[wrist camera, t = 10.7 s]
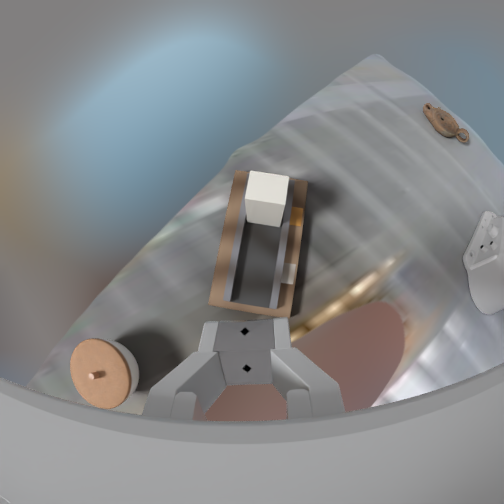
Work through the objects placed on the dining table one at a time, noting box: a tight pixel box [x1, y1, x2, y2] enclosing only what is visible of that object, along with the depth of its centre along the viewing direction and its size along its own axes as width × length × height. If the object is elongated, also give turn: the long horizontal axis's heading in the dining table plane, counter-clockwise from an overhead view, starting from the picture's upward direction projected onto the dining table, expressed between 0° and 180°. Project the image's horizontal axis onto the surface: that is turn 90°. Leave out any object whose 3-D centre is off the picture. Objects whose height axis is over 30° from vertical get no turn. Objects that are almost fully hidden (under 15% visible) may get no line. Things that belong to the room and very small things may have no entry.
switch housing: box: [208, 170, 308, 318], centre depth 43 cm, size 22×12×4 cm, turn 170°
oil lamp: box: [423, 103, 469, 143], centre depth 48 cm, size 13×8×5 cm, turn 45°
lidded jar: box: [70, 339, 139, 409], centre depth 36 cm, size 11×11×9 cm
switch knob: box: [245, 171, 289, 227], centre depth 39 cm, size 4×5×9 cm
